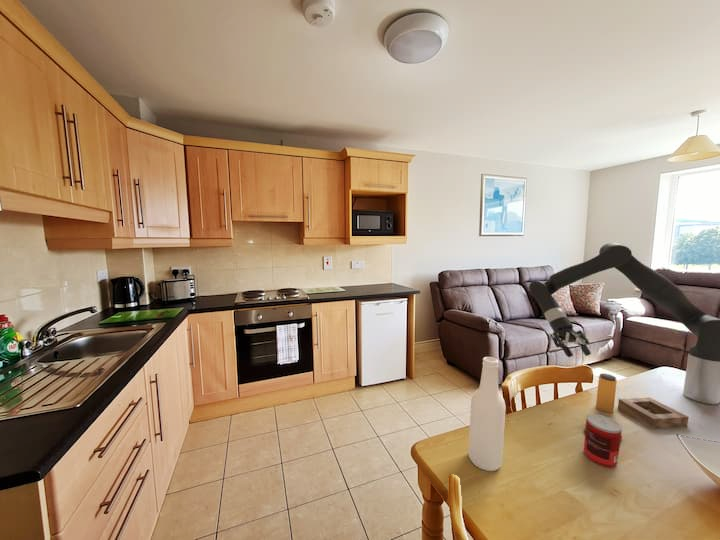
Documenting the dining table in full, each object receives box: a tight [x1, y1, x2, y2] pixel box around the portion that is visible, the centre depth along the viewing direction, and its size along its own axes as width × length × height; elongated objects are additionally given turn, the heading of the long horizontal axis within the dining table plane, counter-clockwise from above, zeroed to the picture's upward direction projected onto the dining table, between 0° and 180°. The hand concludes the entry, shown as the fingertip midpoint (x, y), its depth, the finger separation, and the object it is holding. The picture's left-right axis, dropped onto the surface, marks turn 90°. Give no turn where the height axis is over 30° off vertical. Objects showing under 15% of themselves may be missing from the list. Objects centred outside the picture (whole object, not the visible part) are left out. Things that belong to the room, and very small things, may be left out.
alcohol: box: [467, 356, 507, 472], centre depth 81 cm, size 9×9×30 cm
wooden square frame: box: [617, 397, 689, 430], centre depth 103 cm, size 13×12×4 cm
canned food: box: [583, 413, 622, 468], centre depth 83 cm, size 8×8×11 cm
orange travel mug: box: [595, 373, 618, 414], centre depth 107 cm, size 5×5×13 cm
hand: (579, 355), depth 118 cm, fingers open, 8 cm apart
